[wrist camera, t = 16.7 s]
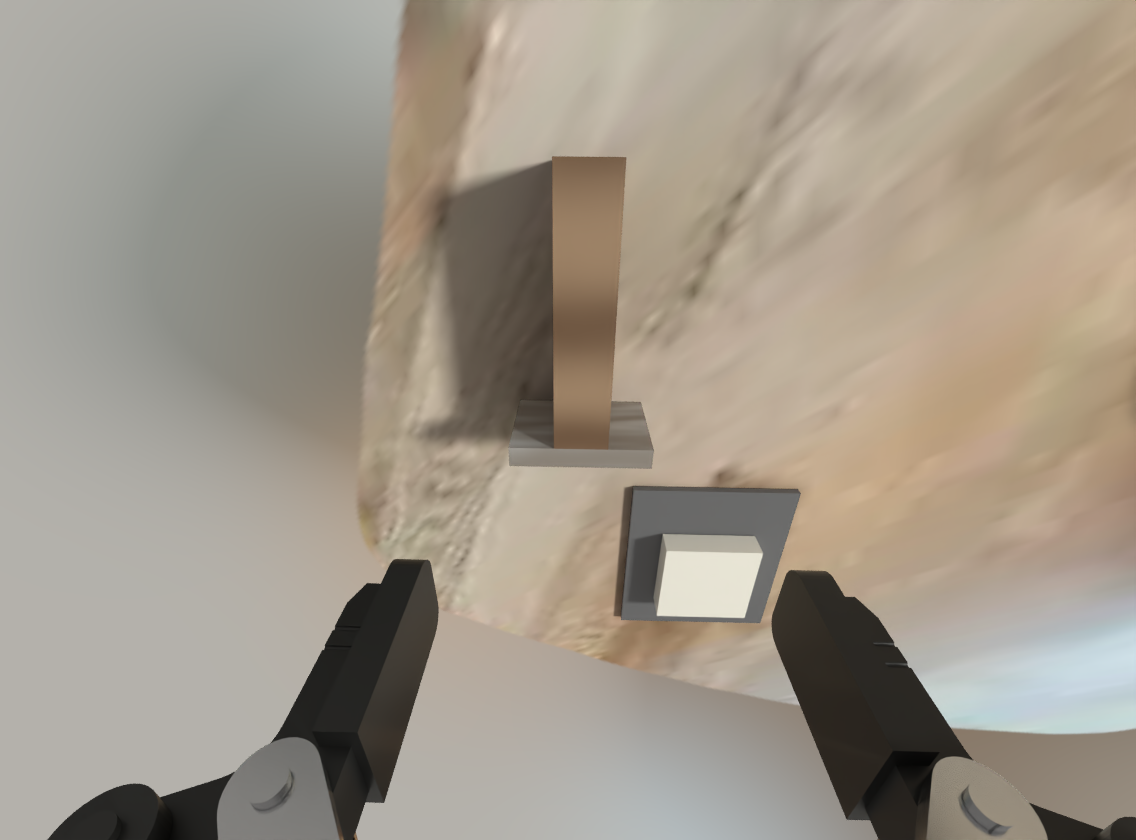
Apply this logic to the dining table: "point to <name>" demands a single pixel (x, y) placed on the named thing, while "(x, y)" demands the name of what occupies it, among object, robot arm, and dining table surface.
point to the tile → (706, 575)
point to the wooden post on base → (584, 331)
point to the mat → (703, 515)
